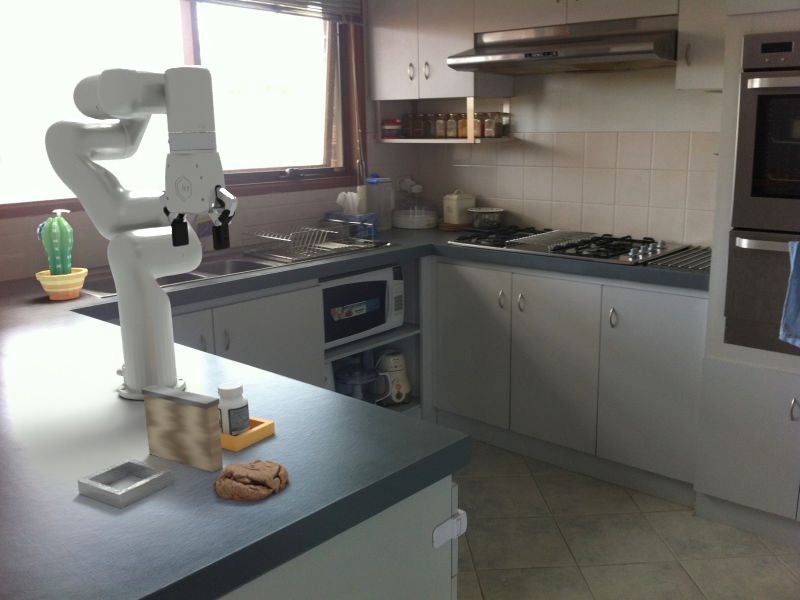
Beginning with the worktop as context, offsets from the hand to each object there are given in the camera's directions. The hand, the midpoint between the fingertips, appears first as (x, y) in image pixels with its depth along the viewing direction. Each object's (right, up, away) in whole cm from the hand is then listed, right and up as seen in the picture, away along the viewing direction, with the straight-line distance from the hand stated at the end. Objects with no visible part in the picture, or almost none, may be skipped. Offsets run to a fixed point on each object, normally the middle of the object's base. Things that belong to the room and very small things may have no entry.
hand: (201, 247), depth 134 cm
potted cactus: (-72, -8, +116) cm, 136 cm away
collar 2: (+6, -31, -3) cm, 32 cm away
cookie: (+12, -36, -21) cm, 43 cm away
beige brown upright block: (+1, -34, -12) cm, 36 cm away
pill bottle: (+6, -32, -3) cm, 32 cm away
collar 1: (-5, -36, -21) cm, 42 cm away
